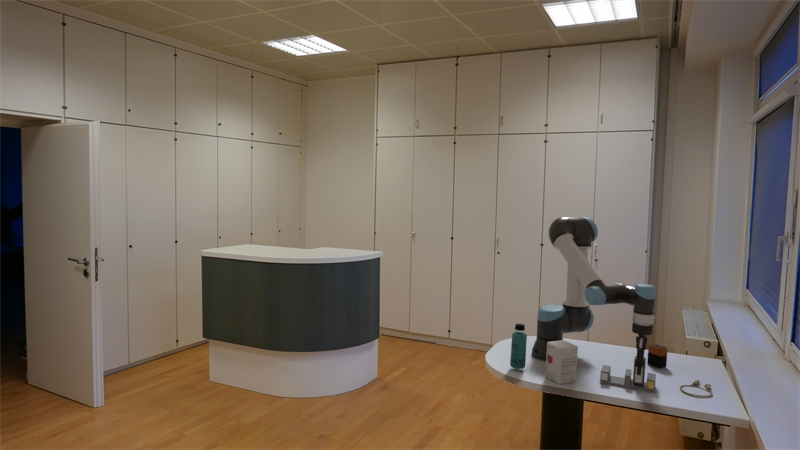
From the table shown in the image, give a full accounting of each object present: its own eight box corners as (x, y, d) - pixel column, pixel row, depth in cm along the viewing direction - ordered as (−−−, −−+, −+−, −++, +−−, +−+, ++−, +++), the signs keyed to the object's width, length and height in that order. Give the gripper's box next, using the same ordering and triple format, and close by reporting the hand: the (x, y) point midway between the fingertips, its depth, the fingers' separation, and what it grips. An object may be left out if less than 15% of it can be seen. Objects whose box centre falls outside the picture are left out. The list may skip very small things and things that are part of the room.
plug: (632, 383, 211) (634, 357, 210) (633, 380, 215) (635, 354, 214) (643, 385, 209) (645, 359, 208) (644, 382, 213) (646, 356, 212)
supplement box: (544, 376, 220) (546, 341, 218) (561, 373, 224) (563, 339, 222) (559, 384, 212) (561, 348, 210) (576, 381, 215) (578, 346, 214)
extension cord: (726, 395, 207) (726, 390, 207) (698, 400, 201) (698, 395, 201) (698, 383, 218) (698, 378, 218) (670, 388, 212) (671, 383, 212)
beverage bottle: (513, 366, 231) (515, 321, 229) (527, 369, 227) (530, 324, 225) (507, 370, 226) (509, 324, 224) (521, 374, 222) (524, 327, 220)
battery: (660, 369, 232) (661, 346, 231) (646, 364, 238) (648, 342, 237) (666, 367, 234) (668, 345, 233) (653, 362, 240) (654, 341, 239)
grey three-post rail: (600, 382, 215) (600, 371, 214) (602, 376, 222) (603, 364, 221) (654, 393, 205) (655, 380, 205) (655, 386, 213) (655, 374, 212)
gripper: (652, 330, 200) (648, 389, 203) (653, 319, 215) (649, 375, 218) (631, 327, 204) (626, 385, 206) (633, 317, 219) (629, 371, 221)
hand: (638, 380), depth 212 cm, fingers closed on plug, 4 cm apart
